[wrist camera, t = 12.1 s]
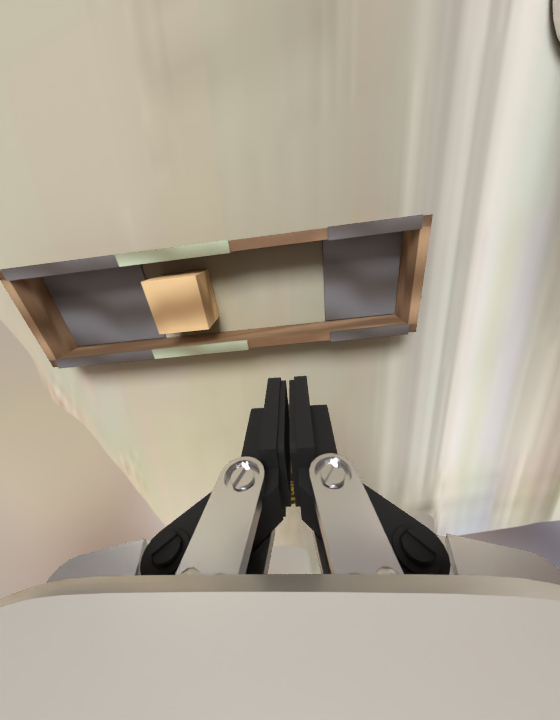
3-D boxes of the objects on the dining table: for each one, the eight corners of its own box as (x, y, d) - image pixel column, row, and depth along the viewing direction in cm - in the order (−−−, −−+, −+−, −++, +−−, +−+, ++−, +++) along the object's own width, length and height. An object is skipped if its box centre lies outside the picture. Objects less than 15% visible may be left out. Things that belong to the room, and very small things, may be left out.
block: (161, 274, 31) (140, 282, 26) (208, 269, 30) (195, 275, 26) (176, 320, 34) (159, 334, 29) (219, 316, 33) (209, 329, 29)
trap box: (28, 265, 30) (-9, 270, 27) (413, 215, 27) (434, 213, 23) (76, 354, 36) (51, 368, 32) (401, 321, 33) (416, 333, 29)
